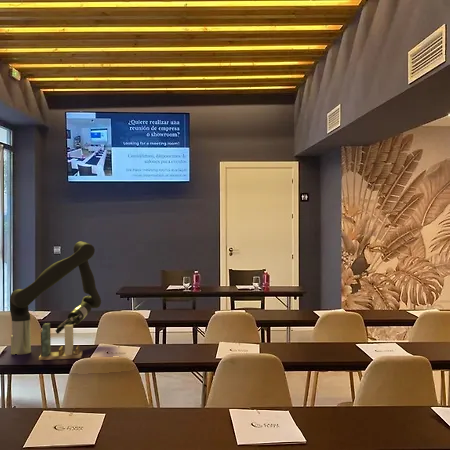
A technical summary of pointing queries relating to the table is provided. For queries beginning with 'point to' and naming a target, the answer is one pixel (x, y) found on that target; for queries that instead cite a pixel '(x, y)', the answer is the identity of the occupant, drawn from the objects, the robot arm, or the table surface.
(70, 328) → the cream book
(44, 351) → the book rack
